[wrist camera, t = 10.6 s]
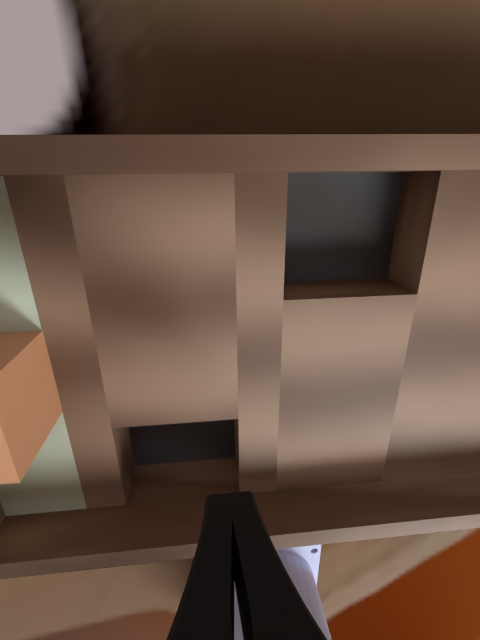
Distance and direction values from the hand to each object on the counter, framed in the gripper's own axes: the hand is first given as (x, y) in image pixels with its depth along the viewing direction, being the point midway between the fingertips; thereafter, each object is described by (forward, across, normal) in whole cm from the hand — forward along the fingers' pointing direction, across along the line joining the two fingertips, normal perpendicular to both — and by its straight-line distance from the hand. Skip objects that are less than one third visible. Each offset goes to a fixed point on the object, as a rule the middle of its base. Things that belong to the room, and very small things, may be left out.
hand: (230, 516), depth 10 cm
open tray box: (+9, -3, -2) cm, 10 cm away
